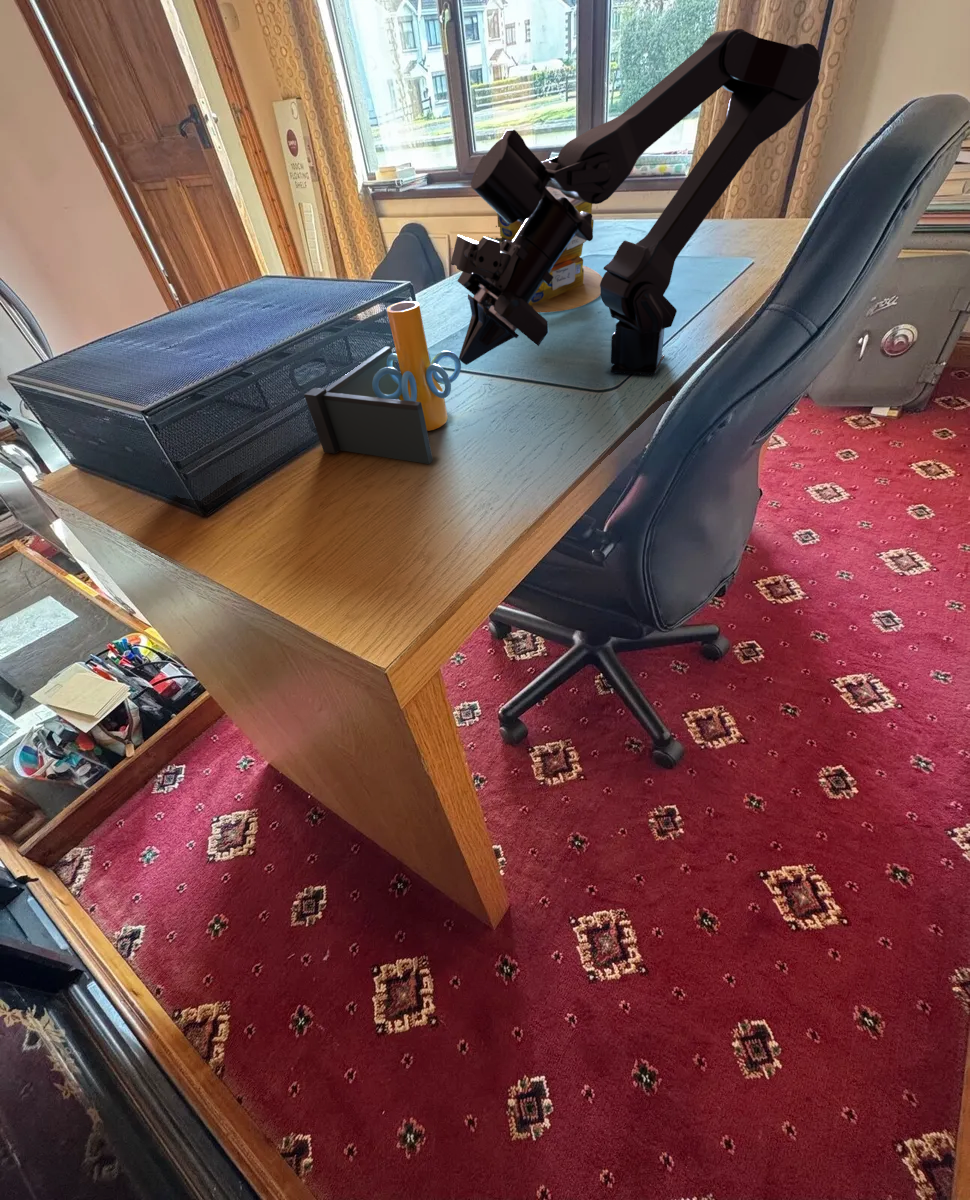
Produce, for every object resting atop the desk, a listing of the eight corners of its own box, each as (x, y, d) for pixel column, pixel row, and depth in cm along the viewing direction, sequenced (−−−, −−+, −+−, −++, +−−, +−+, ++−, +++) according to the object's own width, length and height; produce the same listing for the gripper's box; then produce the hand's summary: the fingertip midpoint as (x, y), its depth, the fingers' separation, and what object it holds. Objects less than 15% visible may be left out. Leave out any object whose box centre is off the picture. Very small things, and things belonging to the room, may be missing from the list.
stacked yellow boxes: (630, 291, 109) (636, 185, 97) (518, 325, 102) (511, 216, 91) (561, 269, 125) (559, 176, 114) (461, 296, 119) (449, 202, 108)
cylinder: (454, 443, 73) (433, 321, 62) (379, 445, 75) (346, 327, 65) (471, 400, 81) (455, 287, 71) (403, 403, 83) (377, 293, 73)
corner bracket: (485, 406, 80) (478, 348, 74) (425, 468, 69) (411, 406, 64) (391, 397, 86) (379, 343, 80) (323, 452, 75) (303, 394, 70)
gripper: (462, 193, 71) (396, 307, 76) (516, 214, 57) (431, 349, 63) (524, 252, 77) (459, 353, 83) (585, 283, 64) (503, 400, 70)
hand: (462, 362), depth 74 cm, fingers closed
